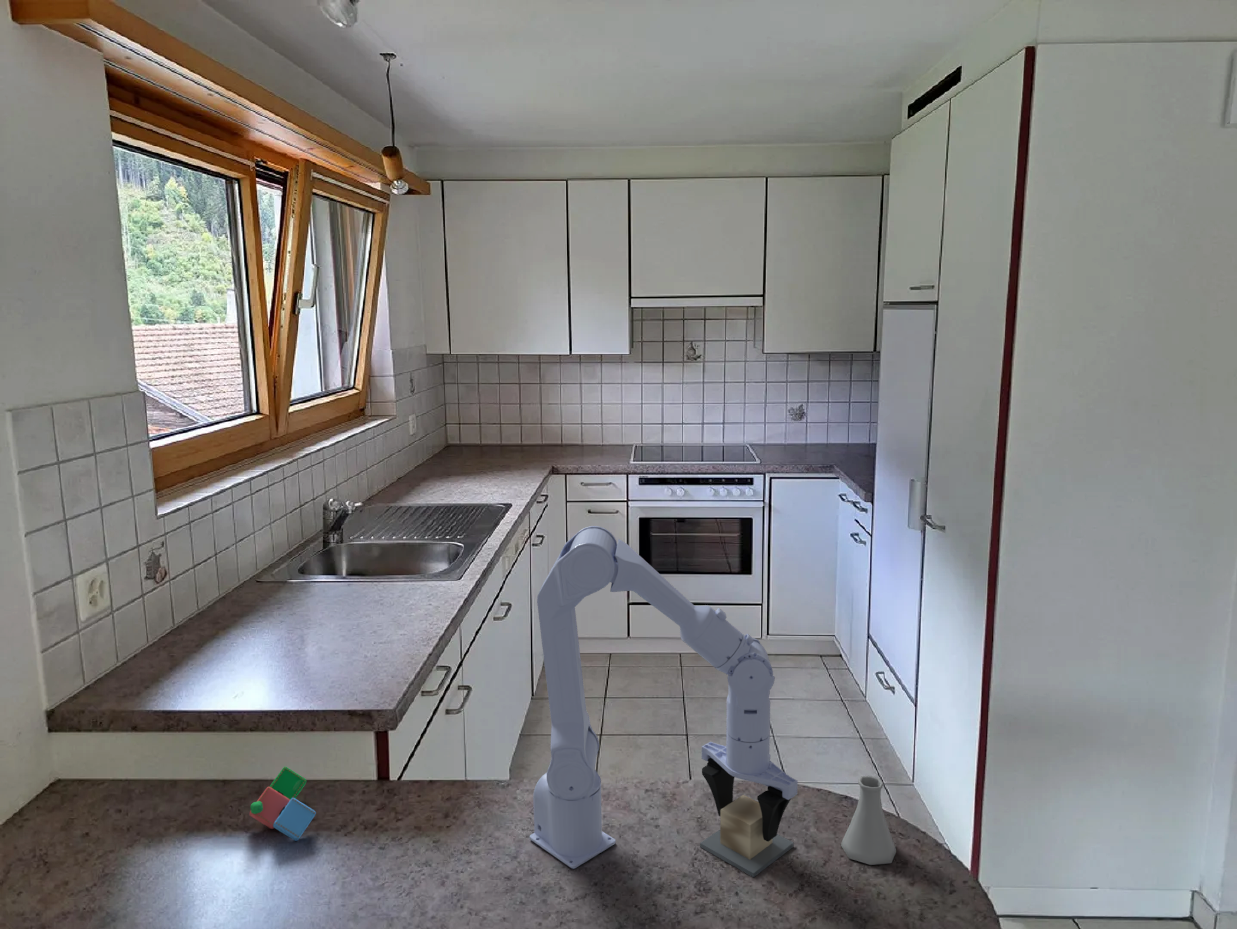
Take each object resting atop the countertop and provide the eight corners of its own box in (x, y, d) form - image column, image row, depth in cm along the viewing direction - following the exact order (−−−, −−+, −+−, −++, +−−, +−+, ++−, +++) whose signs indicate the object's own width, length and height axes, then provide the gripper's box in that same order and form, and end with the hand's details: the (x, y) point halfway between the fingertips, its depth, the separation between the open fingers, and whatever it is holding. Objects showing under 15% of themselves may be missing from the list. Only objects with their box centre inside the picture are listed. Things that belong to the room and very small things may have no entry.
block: (720, 843, 114) (720, 809, 113) (742, 827, 117) (743, 794, 116) (750, 859, 110) (750, 825, 109) (772, 843, 114) (772, 809, 113)
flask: (899, 870, 109) (902, 799, 107) (841, 863, 110) (844, 793, 108) (893, 836, 116) (896, 770, 114) (839, 831, 117) (841, 765, 115)
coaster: (700, 847, 114) (700, 843, 114) (740, 819, 120) (740, 815, 120) (753, 877, 108) (753, 873, 107) (793, 846, 114) (793, 842, 114)
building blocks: (293, 846, 123) (298, 839, 114) (246, 817, 123) (247, 807, 113) (327, 797, 128) (334, 786, 118) (282, 768, 127) (285, 755, 118)
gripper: (811, 740, 109) (809, 835, 111) (724, 704, 119) (723, 792, 121) (779, 760, 104) (778, 859, 106) (691, 721, 114) (691, 812, 116)
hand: (747, 825), depth 113 cm, fingers open, 7 cm apart
